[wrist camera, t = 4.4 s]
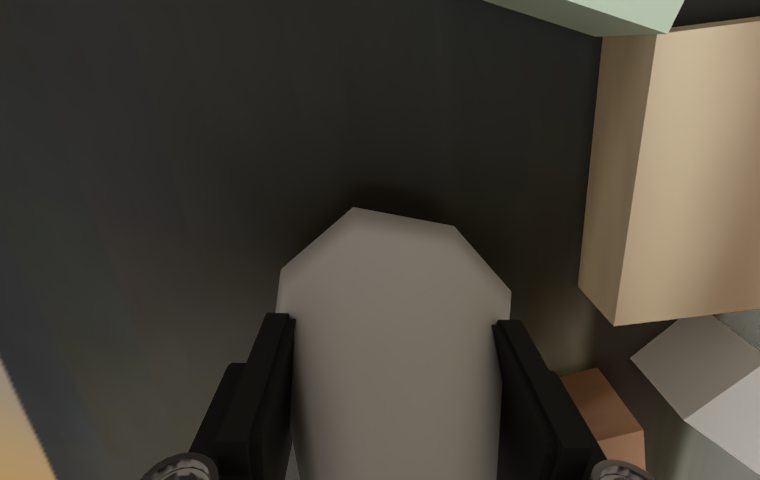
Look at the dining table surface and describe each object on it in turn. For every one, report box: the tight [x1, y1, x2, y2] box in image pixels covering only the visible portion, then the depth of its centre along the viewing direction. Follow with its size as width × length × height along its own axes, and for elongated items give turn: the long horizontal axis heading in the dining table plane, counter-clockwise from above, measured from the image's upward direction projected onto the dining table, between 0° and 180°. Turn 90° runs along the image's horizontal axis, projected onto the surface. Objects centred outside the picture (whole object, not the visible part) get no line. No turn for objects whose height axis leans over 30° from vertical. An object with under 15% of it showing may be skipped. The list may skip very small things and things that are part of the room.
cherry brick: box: [559, 367, 646, 471], centre depth 18 cm, size 6×4×4 cm, turn 107°
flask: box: [275, 207, 511, 480], centre depth 9 cm, size 7×7×10 cm
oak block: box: [578, 16, 760, 326], centre depth 14 cm, size 9×9×3 cm
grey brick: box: [630, 315, 760, 475], centre depth 17 cm, size 6×4×4 cm, turn 52°
